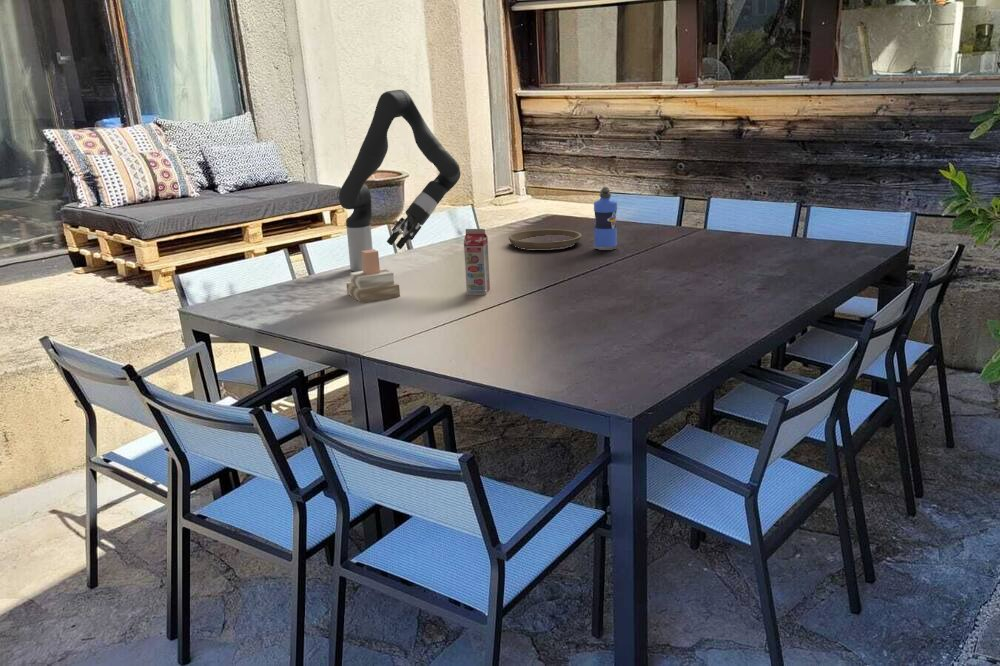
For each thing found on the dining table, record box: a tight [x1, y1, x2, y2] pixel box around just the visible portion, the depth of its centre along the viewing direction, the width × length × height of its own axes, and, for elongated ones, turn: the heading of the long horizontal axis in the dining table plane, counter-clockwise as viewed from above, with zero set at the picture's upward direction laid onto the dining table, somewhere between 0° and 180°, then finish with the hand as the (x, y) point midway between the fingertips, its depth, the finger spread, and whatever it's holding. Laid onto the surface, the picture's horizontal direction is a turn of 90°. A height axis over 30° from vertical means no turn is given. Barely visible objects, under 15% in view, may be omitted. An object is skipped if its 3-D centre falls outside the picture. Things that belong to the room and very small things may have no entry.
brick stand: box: [345, 267, 401, 303], centre depth 301 cm, size 14×14×8 cm
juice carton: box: [463, 228, 491, 296], centre depth 297 cm, size 7×7×22 cm
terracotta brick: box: [361, 248, 381, 275], centre depth 299 cm, size 4×4×8 cm
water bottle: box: [593, 186, 618, 247], centre depth 356 cm, size 9×9×25 cm
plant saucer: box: [508, 228, 583, 249], centre depth 372 cm, size 31×31×5 cm
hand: (393, 245), depth 302 cm, fingers open, 8 cm apart
